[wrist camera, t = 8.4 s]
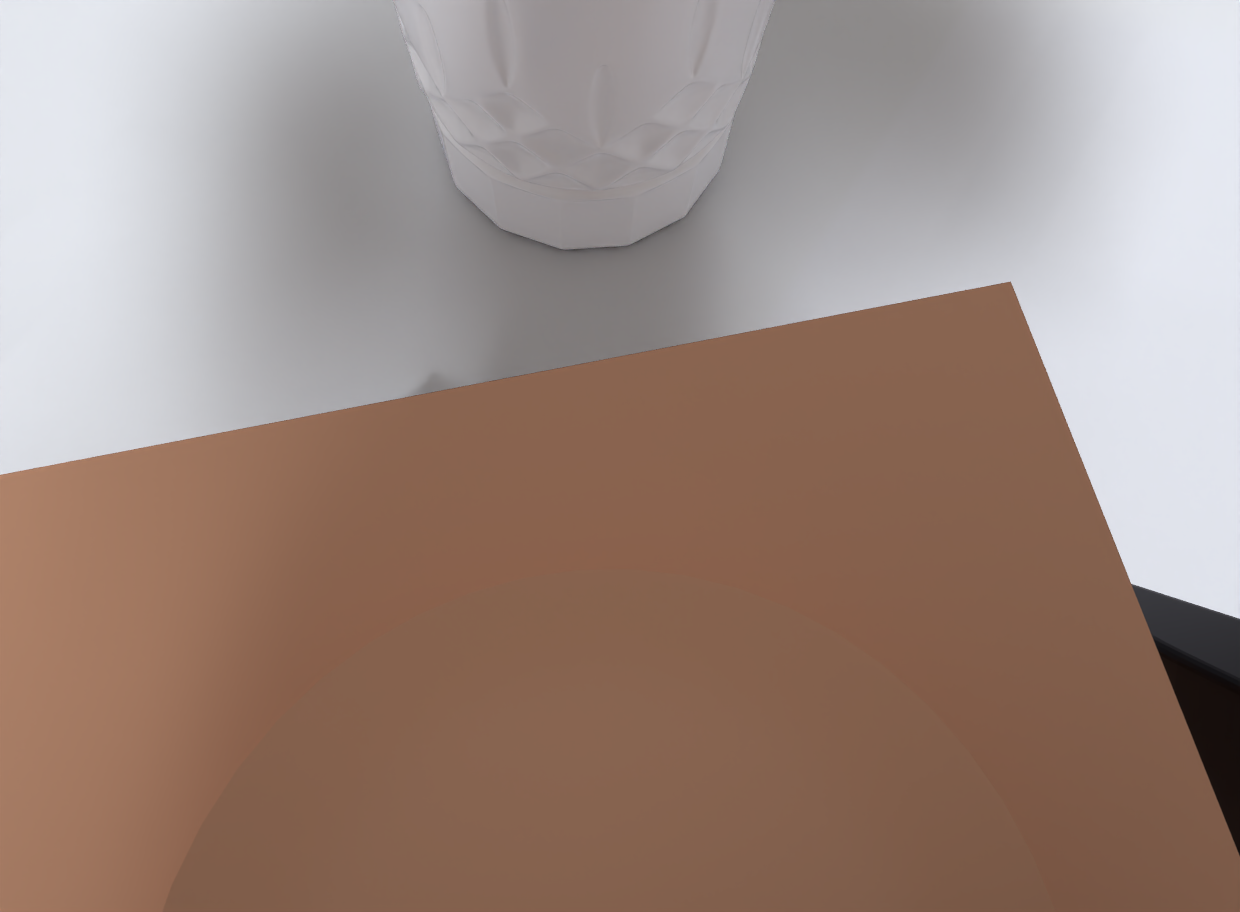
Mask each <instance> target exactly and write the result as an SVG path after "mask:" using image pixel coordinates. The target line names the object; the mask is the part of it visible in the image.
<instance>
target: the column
mask: <svg viewBox="0 0 1240 912" xmlns="http://www.w3.org/2000/svg"><path fill="white" fill-rule="evenodd" d="M0 912H1240V856H1239V853H1238V851H1237V848H1236V846H1235V843H1234V841H1233V838H1232V836H1231V833H1230V831H1229V828H1228V826H1227V823H1226V821H1225V818H1224V816H1223V813H1222V811H1221V808H1220V806H1219V803H1218V801H1217V798H1216V796H1215V793H1214V791H1213V788H1212V786H1211V783H1210V781H1209V778H1208V775H1207V773H1206V770H1205V768H1204V765H1203V763H1202V760H1201V758H1200V755H1199V753H1198V750H1197V748H1196V745H1195V743H1194V740H1193V738H1192V735H1191V733H1190V730H1189V728H1188V725H1187V723H1186V720H1185V718H1184V715H1183V713H1182V710H1181V708H1180V705H1179V703H1178V700H1177V698H1176V695H1175V693H1174V690H1173V688H1172V685H1171V683H1170V680H1169V678H1168V675H1167V673H1166V670H1165V668H1164V665H1163V663H1162V660H1161V658H1160V655H1159V653H1158V650H1157V648H1156V645H1155V643H1154V640H1153V638H1152V635H1151V633H1150V630H1149V627H1148V625H1147V622H1146V620H1145V617H1144V615H1143V612H1142V610H1141V607H1140V605H1139V602H1138V600H1137V597H1136V595H1135V592H1134V590H1133V587H1132V585H1131V582H1130V580H1129V577H1128V575H1127V572H1126V570H1125V567H1124V565H1123V562H1122V560H1121V557H1120V555H1119V552H1118V550H1117V547H1116V545H1115V542H1114V540H1113V537H1112V535H1111V532H1110V530H1109V527H1108V525H1107V522H1106V520H1105V517H1104V515H1103V512H1102V510H1101V507H1100V505H1099V502H1098V500H1097V497H1096V495H1095V492H1094V490H1093V487H1092V485H1091V482H1090V479H1089V477H1088V474H1087V472H1086V469H1085V467H1084V464H1083V462H1082V459H1081V457H1080V454H1079V452H1078V449H1077V447H1076V444H1075V442H1074V439H1073V437H1072V434H1071V432H1070V429H1069V427H1068V424H1067V422H1066V419H1065V417H1064V414H1063V412H1062V409H1061V407H1060V404H1059V402H1058V399H1057V397H1056V394H1055V392H1054V389H1053V387H1052V384H1051V382H1050V379H1049V377H1048V374H1047V372H1046V369H1045V367H1044V364H1043V362H1042V359H1041V357H1040V354H1039V352H1038V349H1037V347H1036V344H1035V342H1034V339H1033V337H1032V334H1031V332H1030V329H1029V326H1028V324H1027V321H1026V319H1025V316H1024V314H1023V311H1022V309H1021V306H1020V304H1019V301H1018V299H1017V296H1016V294H1015V291H1014V289H1013V286H1012V284H1011V282H1007V283H1001V284H996V285H991V286H986V287H980V288H975V289H970V290H965V291H960V292H954V293H949V294H944V295H939V296H933V297H928V298H923V299H918V300H912V301H907V302H902V303H897V304H892V305H886V306H881V307H876V308H871V309H865V310H860V311H855V312H850V313H845V314H839V315H834V316H829V317H824V318H818V319H813V320H808V321H803V322H797V323H792V324H787V325H782V326H777V327H771V328H766V329H761V330H756V331H750V332H745V333H740V334H735V335H730V336H724V337H719V338H714V339H709V340H703V341H698V342H693V343H688V344H682V345H677V346H672V347H667V348H662V349H656V350H651V351H646V352H641V353H635V354H630V355H625V356H620V357H615V358H609V359H604V360H599V361H594V362H588V363H583V364H578V365H573V366H567V367H562V368H557V369H552V370H547V371H541V372H536V373H531V374H526V375H520V376H515V377H510V378H505V379H499V380H494V381H489V382H484V383H479V384H473V385H468V386H463V387H458V388H452V389H447V390H442V391H437V392H432V393H426V394H421V395H416V396H411V397H405V398H400V399H395V400H390V401H384V402H379V403H374V404H369V405H364V406H358V407H353V408H348V409H343V410H337V411H332V412H327V413H322V414H317V415H311V416H306V417H301V418H296V419H290V420H285V421H280V422H275V423H269V424H264V425H259V426H254V427H249V428H243V429H238V430H233V431H228V432H222V433H217V434H212V435H207V436H202V437H196V438H191V439H186V440H181V441H175V442H170V443H165V444H160V445H154V446H149V447H144V448H139V449H134V450H128V451H123V452H118V453H113V454H107V455H102V456H97V457H92V458H87V459H81V460H76V461H71V462H66V463H60V464H55V465H50V466H45V467H39V468H34V469H29V470H24V471H19V472H13V473H8V474H3V475H0Z"/></svg>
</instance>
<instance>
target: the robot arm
mask: <svg viewBox="0 0 1240 912" xmlns="http://www.w3.org/2000/svg"><path fill="white" fill-rule="evenodd" d="M1131 585H1132V587H1133V590H1134V592H1135V595H1136V597H1137V600H1138V602H1139V605H1140V607H1141V610H1142V612H1143V615H1144V617H1145V620H1146V622H1147V625H1148V627H1149V630H1150V633H1151V635H1152V638H1153V640H1154V643H1155V645H1156V648H1157V650H1158V653H1159V655H1160V658H1161V660H1162V663H1163V665H1164V668H1165V670H1166V673H1167V675H1168V678H1169V680H1170V683H1171V685H1172V688H1173V690H1174V693H1175V695H1176V698H1177V700H1178V703H1179V705H1180V708H1181V710H1182V713H1183V715H1184V718H1185V720H1186V723H1187V725H1188V728H1189V730H1190V733H1191V735H1192V738H1193V740H1194V743H1195V745H1196V748H1197V750H1198V753H1199V755H1200V758H1201V760H1202V763H1203V765H1204V768H1205V770H1206V773H1207V775H1208V778H1209V781H1210V783H1211V786H1212V788H1213V791H1214V793H1215V796H1216V798H1217V801H1218V803H1219V806H1220V808H1221V811H1222V813H1223V816H1224V818H1225V821H1226V823H1227V826H1228V828H1229V831H1230V833H1231V836H1232V838H1233V841H1234V843H1235V846H1236V848H1237V851H1238V853H1239V856H1240V619H1238V618H1235V617H1232V616H1229V615H1226V614H1223V613H1220V612H1217V611H1214V610H1210V609H1207V608H1204V607H1201V606H1198V605H1195V604H1192V603H1189V602H1186V601H1183V600H1179V599H1176V598H1173V597H1170V596H1167V595H1164V594H1161V593H1158V592H1155V591H1152V590H1149V589H1145V588H1142V587H1139V586H1136V585H1133V584H1131Z"/></svg>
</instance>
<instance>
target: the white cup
mask: <svg viewBox="0 0 1240 912" xmlns="http://www.w3.org/2000/svg"><path fill="white" fill-rule="evenodd" d="M393 2H394V4H395V7H396V11H397V15H398V19H399V23H400V27H401V30H402V34H403V37H404V40H405V43H406V46H407V48H408V51H409V54H410V56H411V59H412V63H413V67H414V71H415V74H416V78H417V81H418V85H419V87H420V89H421V90H422V92H423V93H424V94H425V96H426V97H427V99H428V101H429V104H430V106H431V109H432V113H433V117H434V121H435V125H436V128H437V132H438V135H439V138H440V141H441V144H442V147H443V150H444V153H445V156H446V159H447V162H448V165H449V168H450V171H451V174H452V177H453V180H454V183H455V186H456V187H457V188H458V189H459V190H460V191H461V192H462V193H463V194H464V195H465V196H466V197H467V198H468V199H469V200H471V201H472V202H473V203H474V204H475V205H476V206H477V207H478V208H479V209H480V210H481V211H482V212H483V213H484V214H485V215H486V216H487V217H489V218H490V219H491V220H492V221H493V222H494V223H495V224H496V225H497V226H498V227H499V228H500V229H503V230H505V231H508V232H511V233H514V234H517V235H520V236H523V237H526V238H529V239H532V240H535V241H538V242H541V243H544V244H547V245H550V246H553V247H556V248H559V249H562V250H568V249H583V248H598V247H612V246H627V245H631V244H633V243H635V242H636V241H638V240H640V239H642V238H644V237H646V236H648V235H650V234H652V233H654V232H656V231H658V230H660V229H662V228H664V227H666V226H668V225H670V224H672V223H673V222H675V221H677V220H679V219H681V218H683V217H685V216H686V215H687V213H688V212H689V211H690V209H691V208H692V206H693V205H694V204H695V202H696V201H697V200H698V198H699V197H700V196H701V194H702V193H703V191H704V190H705V189H706V187H707V186H708V185H709V183H710V182H711V181H712V179H713V178H714V177H715V175H716V174H717V172H718V171H719V169H720V167H721V164H722V160H723V156H724V153H725V149H726V145H727V142H728V138H729V134H730V130H731V127H732V123H733V119H734V115H735V112H736V109H737V107H738V105H739V103H740V100H741V98H742V96H743V94H744V91H745V89H746V87H747V84H748V82H749V79H750V77H751V75H752V71H753V68H754V65H755V62H756V58H757V55H758V52H759V48H760V45H761V41H762V37H763V33H764V31H765V28H766V26H767V23H768V21H769V18H770V15H771V12H772V9H773V5H774V2H775V0H393Z"/></svg>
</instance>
